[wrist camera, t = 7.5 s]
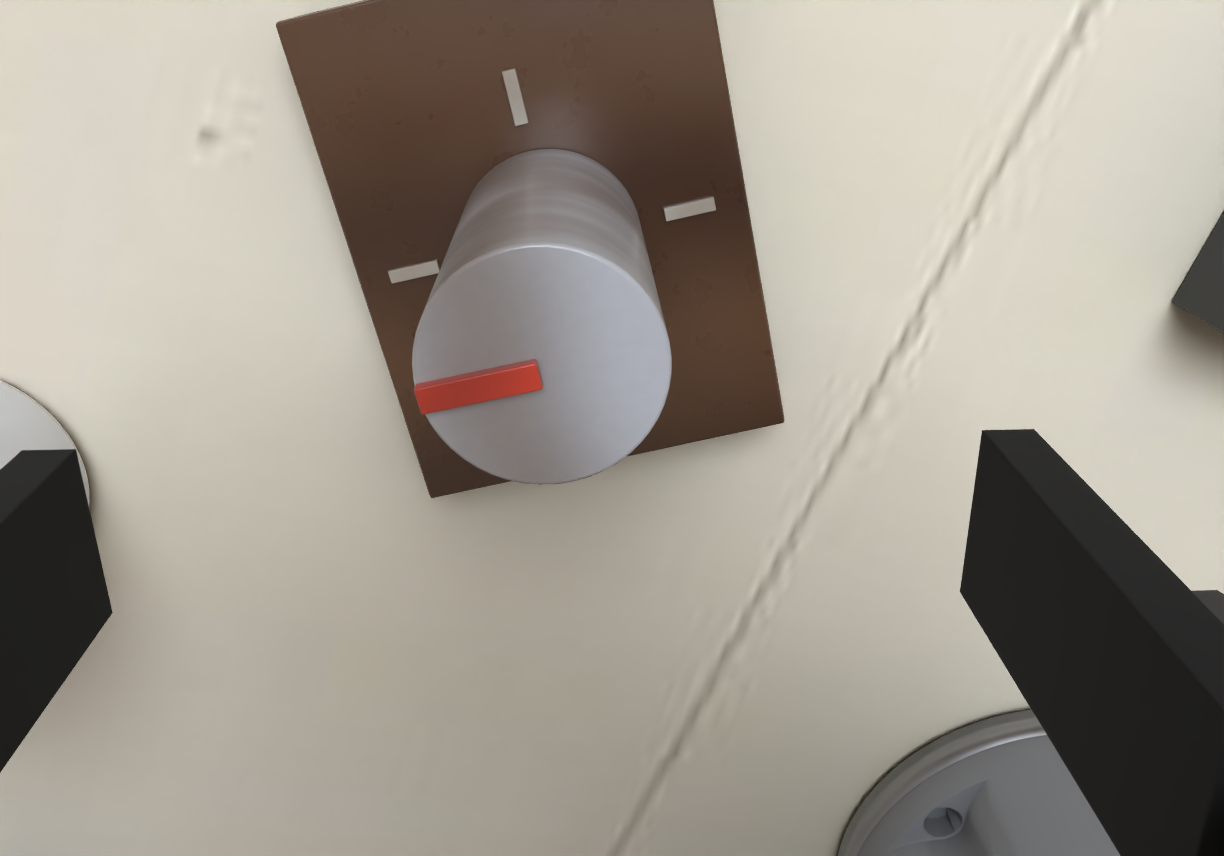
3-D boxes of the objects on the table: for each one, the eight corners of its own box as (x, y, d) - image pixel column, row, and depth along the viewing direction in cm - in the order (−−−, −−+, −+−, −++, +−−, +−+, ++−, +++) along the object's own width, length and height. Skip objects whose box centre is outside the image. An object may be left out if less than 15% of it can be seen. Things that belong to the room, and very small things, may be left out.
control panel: (771, 392, 35) (786, 425, 33) (439, 463, 36) (429, 502, 33) (689, -79, 29) (700, -81, 27) (296, 16, 30) (272, 23, 28)
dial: (621, 129, 29) (645, 220, 20) (657, 306, 31) (694, 465, 22) (438, 170, 29) (376, 279, 20) (485, 342, 31) (449, 515, 22)
